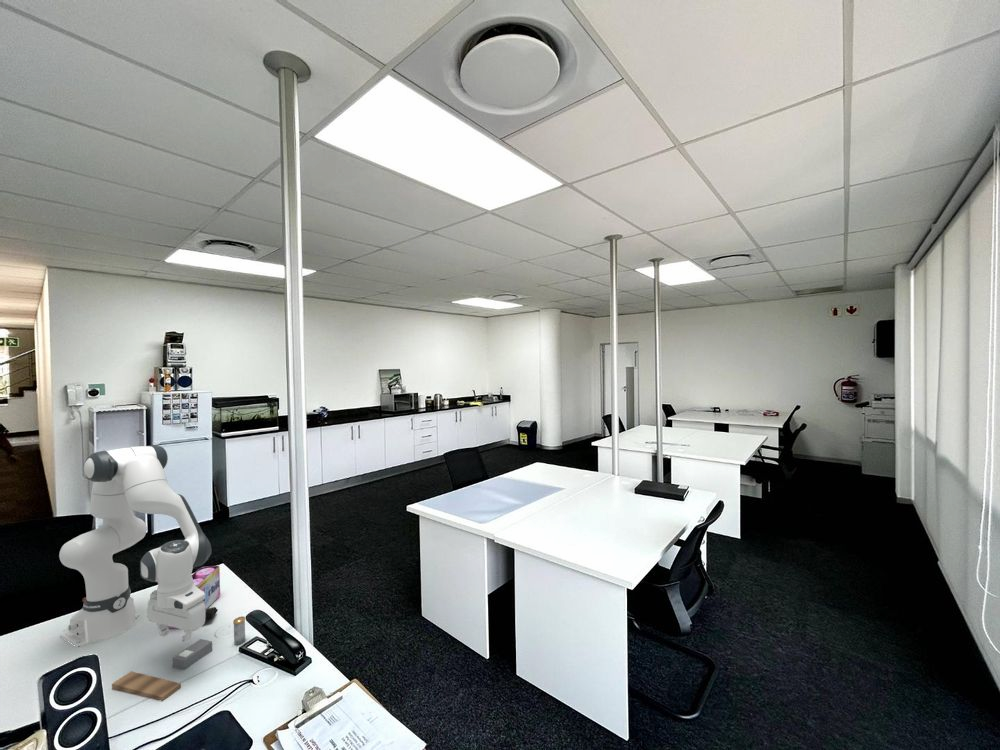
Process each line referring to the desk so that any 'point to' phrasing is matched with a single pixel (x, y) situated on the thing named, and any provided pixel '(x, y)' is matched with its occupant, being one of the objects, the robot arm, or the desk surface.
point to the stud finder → (192, 654)
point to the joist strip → (146, 686)
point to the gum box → (207, 583)
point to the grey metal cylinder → (239, 630)
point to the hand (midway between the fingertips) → (175, 637)
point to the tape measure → (210, 613)
